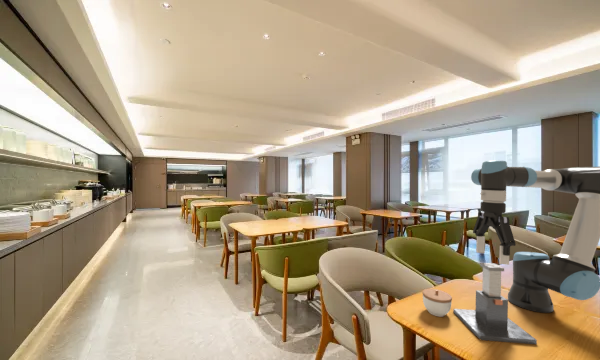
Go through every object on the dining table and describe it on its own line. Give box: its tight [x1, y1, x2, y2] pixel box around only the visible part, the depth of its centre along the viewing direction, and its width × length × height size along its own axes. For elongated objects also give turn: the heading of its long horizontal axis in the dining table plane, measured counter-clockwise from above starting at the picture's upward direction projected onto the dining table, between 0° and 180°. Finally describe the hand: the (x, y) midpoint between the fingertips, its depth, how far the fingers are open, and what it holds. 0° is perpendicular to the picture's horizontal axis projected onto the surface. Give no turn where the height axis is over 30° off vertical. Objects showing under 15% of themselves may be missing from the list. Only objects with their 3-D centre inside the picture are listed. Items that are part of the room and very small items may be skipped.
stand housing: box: [453, 289, 538, 345], centre depth 94 cm, size 18×18×12 cm
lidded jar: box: [421, 288, 453, 318], centre depth 104 cm, size 11×11×9 cm
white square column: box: [479, 262, 505, 298], centre depth 94 cm, size 5×5×21 cm
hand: (491, 258), depth 94 cm, fingers open, 13 cm apart
